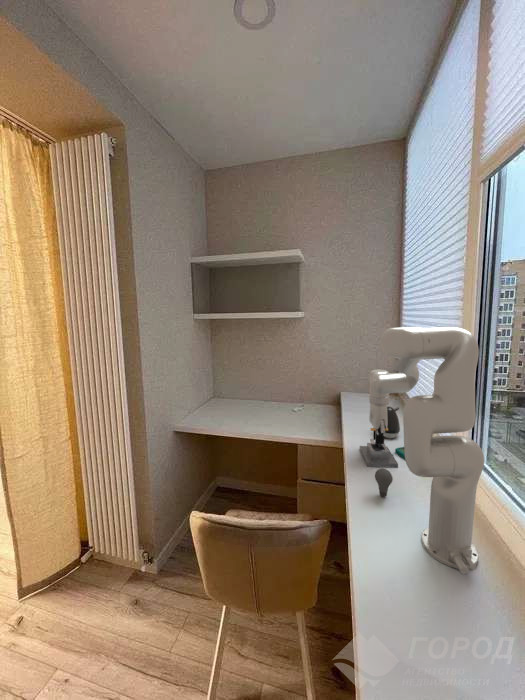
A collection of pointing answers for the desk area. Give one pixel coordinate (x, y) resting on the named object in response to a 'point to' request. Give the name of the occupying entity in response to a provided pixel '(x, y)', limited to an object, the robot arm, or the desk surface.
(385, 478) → the light bulb
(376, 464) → the block
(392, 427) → the pump dispenser
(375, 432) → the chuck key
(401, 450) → the digital multimeter
